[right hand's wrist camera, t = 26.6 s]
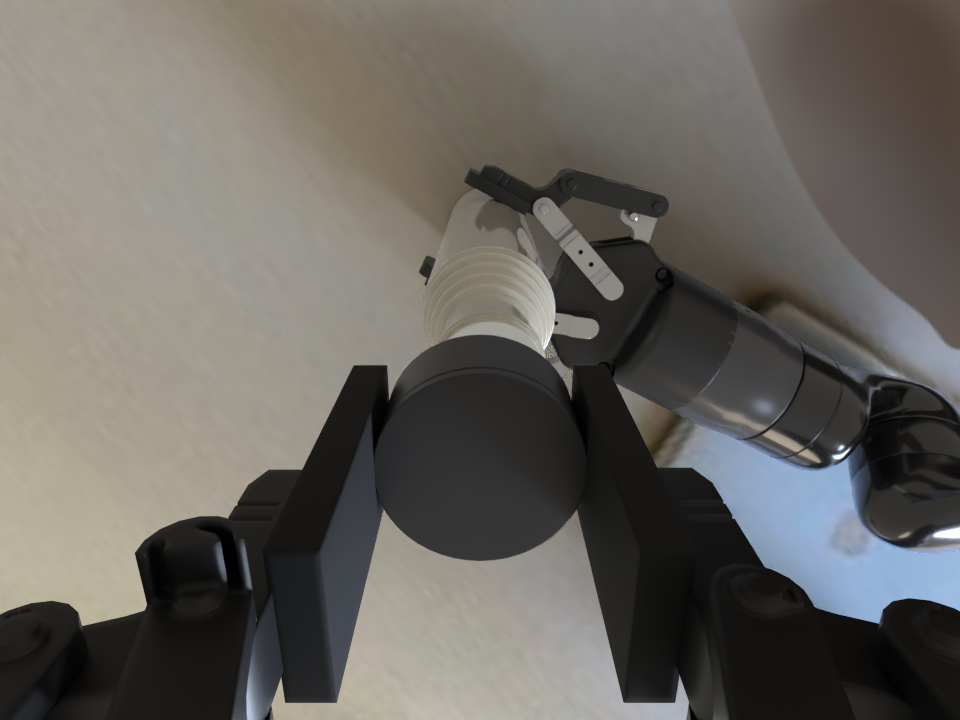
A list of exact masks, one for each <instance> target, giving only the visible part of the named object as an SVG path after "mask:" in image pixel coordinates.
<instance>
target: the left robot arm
mask: <svg viewBox="0 0 960 720" xmlns="http://www.w3.org/2000/svg"><path fill="white" fill-rule="evenodd" d="M464 182H465V183H467V184H468V185H470V186H472V187H474V188H475V189H477V190H479V191H481V192H483V193H485V194H487V195H488V196H490V197H492V198H494V199H496V200H498V201H499V202H501V203H503V204H505V205H507V206H509V207H511V208H513V209H514V210H516V211H518V212H520V213H522V214H523V215H526V213H527V212H528V213H530V214H532V215H534V216H535V217H536V218H537V219H538V220H539V221H540V222H541V224H542V225H543V226H544V227H545V228H546V229H547V230H548V232H549V233H550V234H551V235H552V236H553V237H554V239H555V240H556V241H557V242H558V244H559V245H560V246H561V247H562V248H563V250H564V251H563V253H562V254H561V256H560V258H559V260H558V261H557V265H556V268H555V272H554V275H553V276H552V277H551V278H550V279H549V283H550V285H551V288H552V291H553V294H554V299H555V308H556V310H555V322H554V328H553V332H552V335H551V338H550V340H551V342H552V344H553V347H554V349H555V351H556V353H557V356H556V357H553V358H547V357H546V360H548V361H549V362H550V363H551V365H552V366H553V367H554V368H555V369H556V370H557V372H558V373H559V375H560V376H561V378H562V377H563V376H564V375H565V374H566V373H567V372H568V371H569V370H570V369H571V370H573V365H607V367H608V369H609V371H610V373H611V375H612V377H613V379H614V382H615V383H617V384H619V385H621V386H623V387H625V388H627V389H629V390H631V391H632V392H634V393H636V394H638V395H640V396H642V397H644V398H646V399H648V400H650V401H652V402H654V403H656V404H658V405H660V406H662V407H664V408H666V409H668V410H670V411H672V412H674V413H676V414H678V415H680V416H682V417H684V418H686V419H688V420H690V421H692V422H694V423H696V424H698V425H701V426H703V427H705V428H708V429H711V430H714V431H717V432H720V433H723V434H726V435H728V436H731V437H733V438H735V439H737V440H739V441H741V442H743V443H745V444H747V445H749V446H751V447H753V448H755V449H757V450H759V451H761V452H763V453H765V454H767V455H769V456H770V457H772V458H774V459H776V460H778V461H780V462H783V463H785V464H788V465H790V466H793V467H796V468H798V469H803V470H811V471H818V470H824V469H828V468H831V467H833V466H835V465H837V464H839V463H841V462H842V461H844V460H845V459H846V458H847V461H848V467H849V474H850V480H851V487H852V494H853V501H854V507H855V511H856V514H857V517H858V520H859V522H860V523H861V525H862V526H863V527H864V529H865V530H866V531H868V532H869V533H870V534H871V535H872V536H874V537H875V538H877V539H879V540H880V541H882V542H884V543H886V544H888V545H891V546H893V547H896V548H899V549H902V550H906V551H910V552H917V553H930V554H931V553H945V552H953V551H959V550H960V410H959V409H958V408H957V407H956V406H955V405H954V404H953V403H952V402H951V401H950V400H949V399H948V398H946V397H945V396H944V395H942V394H941V393H940V392H938V391H937V390H935V389H933V388H931V387H929V386H927V385H924V384H922V383H918V382H915V381H911V380H907V379H902V378H898V377H894V376H889V375H885V374H881V373H877V372H873V371H869V370H863V369H858V368H852V367H848V366H843V365H841V364H839V363H838V362H836V361H835V360H833V359H831V358H829V357H827V356H826V355H824V354H822V353H820V352H818V351H817V350H815V349H813V348H811V347H809V346H807V345H806V344H804V343H802V342H800V341H798V340H796V339H795V338H793V337H792V336H790V335H788V334H787V333H785V332H784V331H783V330H781V329H780V328H779V327H778V326H776V325H775V324H774V323H772V322H771V321H770V320H768V319H767V318H765V317H763V316H762V315H760V314H758V313H756V312H755V311H753V310H751V309H749V308H748V307H747V306H746V305H745V304H744V303H742V302H740V301H738V300H735V299H731V298H729V297H727V296H726V295H724V294H722V293H720V292H718V291H716V290H715V289H713V288H711V287H709V286H707V285H705V284H704V283H702V282H700V281H698V280H696V279H695V278H693V277H691V276H689V275H687V274H686V273H684V272H682V271H680V270H678V269H676V268H675V267H673V266H671V265H669V264H667V263H666V262H664V261H662V260H661V259H659V258H658V256H657V255H656V253H655V251H654V249H653V248H652V246H651V245H650V244H649V242H650V239H651V236H652V233H653V230H654V227H655V225H656V222H657V219H658V218H659V217H662V216H663V215H665V214H666V212H667V211H668V207H669V204H668V200H667V199H666V198H665V197H664V196H662V195H660V194H658V193H655V192H653V191H651V190H647V189H644V188H640V187H636V186H632V185H628V184H625V183H621V182H617V181H613V180H609V179H606V178H602V177H598V176H594V175H591V174H587V173H583V172H579V171H575V170H572V169H563V170H561V171H559V172H558V174H557V176H556V177H555V178H554V179H552V180H551V181H550V182H549V183H548V184H547V185H545V186H543V187H540V188H536V187H532V186H530V185H528V184H527V183H525V182H523V181H521V180H519V179H518V178H516V177H514V176H512V175H510V174H508V173H507V172H505V171H503V170H501V169H499V168H498V167H496V166H492V165H484V167H483V169H482V171H481V172H479V171H477V170H475V169H473V168H470V170H469V172H468V174H467V176H466V178H465V181H464ZM571 197H576V198H580V199H584V200H588V201H591V202H595V203H599V204H603V205H607V206H611V207H614V208H618V211H617V215H618V218H619V219H620V221H622V222H623V223H624V224H626V225H628V226H629V227H630V230H631V235H630V236H629V237H622V238H615V239H608V240H601V241H594V242H587V241H586V239H585V238H584V237H583V236H582V235H581V233H580V232H579V231H578V230H577V229H576V228H575V226H574V225H573V224H572V223H571V222H570V220H569V219H568V218H567V217H566V216H565V215H564V213H563V212H562V211H561V210H560V209H559V208H560V207H561V206H562V205H563V204H564V203H566V202H567V201H568V200H569V199H570V198H571ZM434 262H435V258H432V257H430V256H426V258H425V260H424V262H423V264H422V266H421V268H420V270H419V273H420V274H421V275H423V276H424V277H426V278H427V279H426V282H425V285H426V286H427V283H428V280H429V277H430V274H431V271H432V268H433V265H434Z"/></svg>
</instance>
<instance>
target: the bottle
mask: <svg viewBox="0 0 960 720" xmlns="http://www.w3.org/2000/svg"><path fill="white" fill-rule="evenodd" d="M555 310H556V308H555V299H554V294H553V291H552V288H551V285H550V283H549V280H548V277H547V275H546V272H545V269H544V267H543V264H542V262H541V259H540V256H539V254H538V251H537V248H536V246H535V243H534V241H533V238H532V235H531V233H530V230H529V227H528V225H527V222H526V220H525V217H524V215H523V214H522V213H520V212H518V211H516V210H514V209H513V208H511V207H509V206H507V205H505V204H503V203H501V202H499V201H498V200H496V199H494V198H492V197H490V196H488V195H487V194H485V193H483V192H481V191H479V190H477V189H473V190H471V191H469V192H467V193H466V194H464V195H463V196H462V197H461V198H460V199H459V200H458V201H457V203H456V204H455V206H454V208H453V210H452V212H451V215H450V218H449V221H448V224H447V227H446V230H445V233H444V236H443V239H442V242H441V244H440V247H439V250H438V253H437V256H436V259H435V262H434V265H433V268H432V271H431V274H430V277H429V280H428V283H427V286H426V289H425V292H424V296H423V301H422V319H423V326H424V331H425V334H426V337H427V340H428V342H429V344H430V346H431V347H433V346H435V345H437V344H439V343H441V342H443V341H446V340H449V339H453V338H456V337H461V336H467V335H494V336H499V337H505V338H508V339H511V340H514V341H518V342H520V343H522V344H524V345H526V346H528V347H530V348H532V349H533V350H535V351H536V352H538V353H539V354H541V355H542V356H543V357H544V358H545V359H546V357H545V352H544V349H545V348H546V346H547V344H548V342H549V340H550V338H551V335H552V332H553V328H554V322H555Z"/></svg>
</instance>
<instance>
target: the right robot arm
mask: <svg viewBox="0 0 960 720" xmlns="http://www.w3.org/2000/svg"><path fill="white" fill-rule="evenodd" d="M571 401H572V405H573V408H574V411H575V414H576V417H577V420H578V424H579V427H580V430H581V433H582V436H583V440H584V443H585V446H586V450H587V464H586V478H585V490H584V494H583V497H582V499H581V501H580V503H579V506H578V508H577V511H578V516H579V520H580V524H581V528H582V532H583V536H584V540H585V544H586V549H587V553H588V557H589V561H590V565H591V569H592V573H593V578H594V582H595V586H596V590H597V594H598V598H599V602H600V607H601V611H602V615H603V619H604V623H605V627H606V631H607V636H608V640H609V644H610V648H611V652H612V656H613V660H614V664H615V669H616V673H617V677H618V681H619V685H620V689H621V693H622V698H623V702H624V703H675V700H676V693H677V687H678V680H679V674H680V677H681V680H682V683H683V686H684V689H685V691H686V694H687V697H688V700H689V707H688V713H687V719H686V720H960V611H958V610H956V609H954V608H951V607H948V606H945V605H942V604H939V603H936V602H932V601H928V600H919V599H910V598H908V599H903V600H898V601H893V602H891V603H890V604H889V605H888V606H887V607H886V608H885V609H883V612H882V616H881V619H880V623H879V624H878V623H873V622H869V621H864V620H860V619H856V618H851V617H847V616H842V615H838V614H834V613H830V612H827V611H824V610H820V609H817V608H815V607H814V606H813V603H812V602H811V600H810V599H809V597H808V596H807V594H806V593H805V591H804V590H803V589H802V588H801V587H799V586H798V585H797V584H796V583H795V582H793V581H792V580H791V579H790V578H788V577H786V576H784V575H782V574H780V573H777V572H775V571H773V570H771V569H768V568H765V567H764V565H763V564H762V562H761V561H760V559H759V557H758V556H757V554H756V553H755V551H754V549H753V548H752V546H751V544H750V543H749V541H748V540H747V538H746V536H745V535H744V533H743V532H742V530H741V528H740V527H739V525H738V524H737V522H736V520H735V519H732V514H731V512H730V511H729V509H728V507H727V506H726V504H723V499H722V498H721V496H720V495H719V493H718V491H717V490H716V488H715V487H714V485H713V483H712V482H710V481H709V480H708V479H706V478H705V477H703V476H702V475H701V474H699V473H698V472H697V471H695V470H694V469H693V468H657V467H656V465H655V462H654V460H653V458H652V456H651V454H650V452H649V450H648V448H647V446H646V444H645V442H644V440H643V438H642V436H641V434H640V432H639V430H638V428H637V426H636V424H635V422H634V420H633V418H632V416H631V414H630V412H629V410H628V408H627V406H626V404H625V402H624V400H623V398H622V396H621V394H620V392H619V390H618V388H617V386H616V384H615V382H614V379H613V377H612V375H611V373H610V371H609V369H608V367H607V365H573V380H572V397H571ZM388 404H389V390H388V373H387V365H354V366H353V368H352V370H351V372H350V374H349V376H348V378H347V380H346V382H345V384H344V386H343V388H342V390H341V392H340V394H339V397H338V399H337V401H336V403H335V405H334V407H333V409H332V411H331V413H330V415H329V417H328V419H327V421H326V423H325V425H324V427H323V429H322V431H321V433H320V435H319V437H318V439H317V441H316V443H315V445H314V447H313V449H312V451H311V453H310V455H309V457H308V459H307V461H306V463H305V465H304V467H303V469H302V470H268V471H267V472H265V473H264V474H263V475H261V476H260V477H258V478H257V479H256V480H254V481H253V482H252V483H250V484H249V485H248V487H247V488H246V490H245V491H244V493H243V495H242V496H241V498H240V499H239V501H238V505H237V506H235V508H234V509H233V511H232V512H231V514H230V516H229V519H227V518H223V517H219V516H201V517H195V518H191V519H186V520H182V521H178V522H176V523H174V524H171V525H169V526H167V527H164V528H162V529H160V530H158V531H157V532H156V533H154V534H153V535H151V536H150V537H149V538H147V539H146V540H144V542H143V543H142V544H141V546H140V547H139V548H138V550H137V551H136V552H135V556H136V560H137V564H138V568H139V572H140V576H141V580H142V585H143V589H144V593H145V597H146V601H147V607H146V609H145V611H142V612H139V613H135V614H132V615H129V616H125V617H121V618H116V619H112V620H107V621H103V622H99V623H94V624H90V625H85V626H82V624H81V621H80V617H79V614H78V612H77V611H76V610H75V609H74V608H73V607H71V606H70V605H69V604H66V603H61V602H55V601H48V602H39V603H31V604H28V605H24V606H21V607H18V608H15V609H12V610H9V611H6V612H5V613H3V614H1V615H0V720H274V719H273V713H272V707H271V704H272V701H273V699H274V696H275V693H276V690H277V687H278V684H279V681H280V679H281V677H282V684H283V691H284V697H285V703H337V699H338V695H339V691H340V687H341V683H342V679H343V674H344V670H345V666H346V662H347V658H348V654H349V650H350V645H351V641H352V637H353V633H354V629H355V625H356V621H357V616H358V612H359V608H360V604H361V600H362V596H363V592H364V587H365V583H366V579H367V575H368V571H369V567H370V563H371V558H372V554H373V550H374V546H375V542H376V538H377V534H378V530H379V525H380V521H381V517H382V513H383V509H384V508H383V506H382V504H381V502H380V500H379V497H378V495H377V491H376V486H375V472H374V449H375V446H376V442H377V439H378V436H379V433H380V430H381V426H382V423H383V420H384V417H385V414H386V410H387V407H388Z"/></svg>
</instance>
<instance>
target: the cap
mask: <svg viewBox="0 0 960 720" xmlns="http://www.w3.org/2000/svg"><path fill="white" fill-rule="evenodd" d="M586 464H587V450H586V446H585V443H584V440H583V436H582V433H581V430H580V427H579V424H578V420H577V417H576V414H575V411H574V408H573V405H572V401H571V398H570V395H569V392H568V389H567V387H566V385H565V383H564V381H563V379H562V378H561V376H560V375H559V373H558V372H557V370H556V369H555V368H554V367H553V366H552V365H551V363H550V362H549V361H548V360H546V359H545V358H544V357H543V356H542V355H541V354H539V353H538V352H536V351H535V350H533V349H532V348H530V347H528V346H526V345H524V344H522V343H520V342H518V341H514V340H511V339H508V338H505V337H499V336H494V335H467V336H461V337H456V338H453V339H449V340H446V341H443V342H441V343H439V344H437V345H435V346H433V347H431V348H429V349H428V350H426V351H425V352H423V353H421V354H420V355H419V356H418V357H417V358H415V359H414V360H413V361H412V362H411V363H410V364H409V365H408V366H407V368H406V369H405V370H404V371H403V373H402V374H401V376H400V377H399V379H398V380H397V382H396V384H395V387H394V389H393V391H392V394H391V397H390V401H389V404H388V407H387V410H386V414H385V417H384V420H383V423H382V426H381V430H380V433H379V436H378V439H377V442H376V446H375V449H374V472H375V486H376V491H377V495H378V497H379V500H380V502H381V504H382V506H383V508H384V510H385V511H386V513H387V514H388V516H389V517H390V519H391V520H392V521H393V522H394V523H395V525H396V526H397V527H398V528H399V529H400V530H401V531H402V532H403V533H405V534H406V535H407V536H408V537H409V538H411V539H412V540H414V541H415V542H417V543H418V544H420V545H422V546H423V547H425V548H427V549H429V550H431V551H434V552H436V553H439V554H441V555H445V556H449V557H452V558H457V559H463V560H474V561H487V560H498V559H504V558H509V557H512V556H516V555H519V554H522V553H524V552H527V551H529V550H532V549H534V548H536V547H537V546H539V545H541V544H543V543H544V542H546V541H547V540H549V539H550V538H551V537H553V536H554V535H555V534H556V533H557V532H558V531H560V530H561V529H562V528H563V527H564V526H565V524H566V523H567V522H568V521H569V520H570V518H571V517H572V515H573V514H574V512H575V511H576V509H577V508H578V506H579V503H580V501H581V499H582V497H583V494H584V490H585V478H586Z"/></svg>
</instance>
